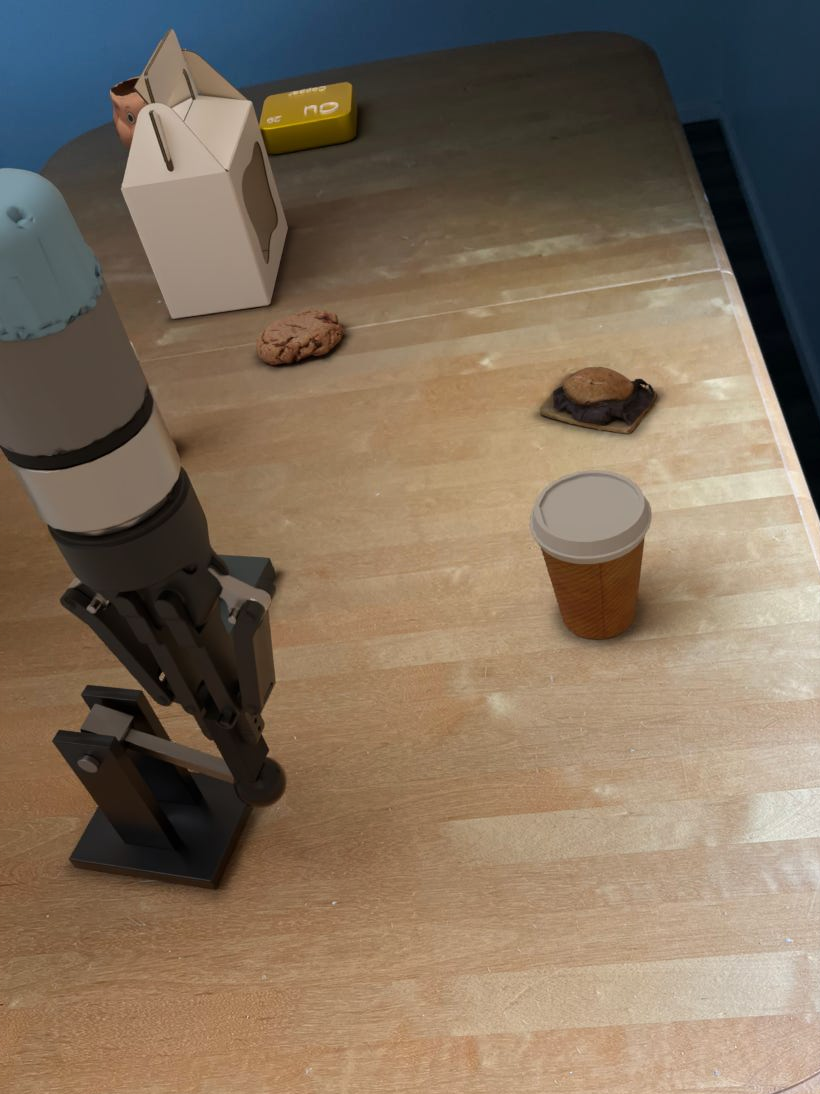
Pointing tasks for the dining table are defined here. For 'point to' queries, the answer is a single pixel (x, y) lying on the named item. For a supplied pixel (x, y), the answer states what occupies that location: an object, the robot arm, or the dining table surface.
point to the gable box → (202, 188)
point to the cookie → (299, 336)
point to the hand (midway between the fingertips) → (252, 764)
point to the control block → (245, 577)
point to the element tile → (309, 118)
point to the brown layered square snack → (600, 400)
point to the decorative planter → (126, 109)
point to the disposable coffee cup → (593, 548)
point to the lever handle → (188, 757)
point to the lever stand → (149, 804)
